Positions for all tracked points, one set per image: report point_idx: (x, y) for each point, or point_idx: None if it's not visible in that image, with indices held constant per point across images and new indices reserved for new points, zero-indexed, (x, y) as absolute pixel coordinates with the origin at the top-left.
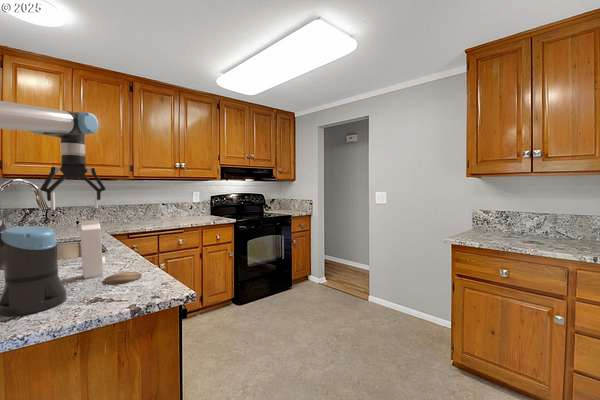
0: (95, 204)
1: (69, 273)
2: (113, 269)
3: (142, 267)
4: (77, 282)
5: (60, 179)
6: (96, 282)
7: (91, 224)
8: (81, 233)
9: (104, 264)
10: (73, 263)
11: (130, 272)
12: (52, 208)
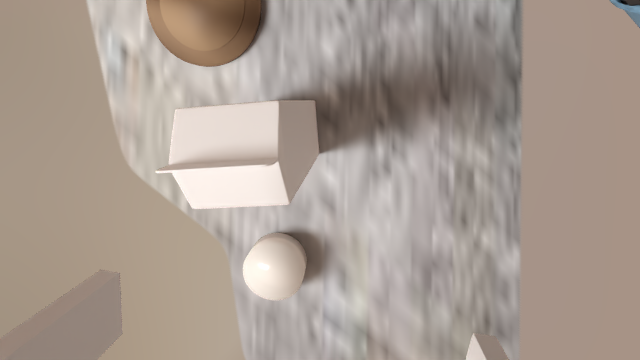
0: (80, 296)
1: (355, 209)
2: None
3: (142, 123)
4: (336, 67)
5: None
6: (283, 22)
7: (217, 158)
8: (289, 149)
9: (253, 246)
10: (341, 341)
11: (178, 49)
12: (489, 343)
